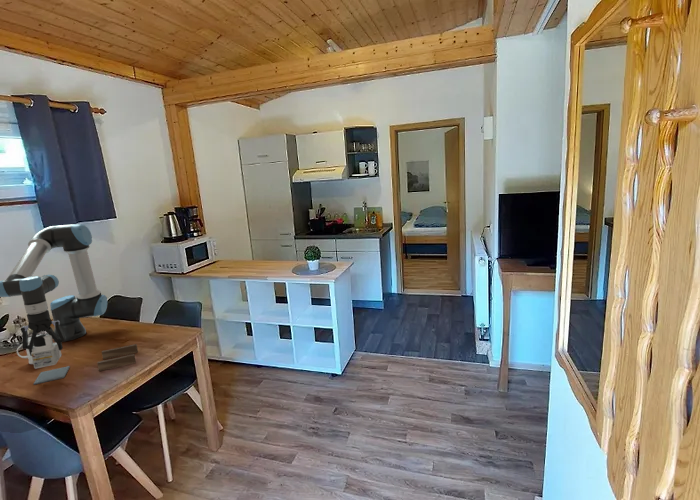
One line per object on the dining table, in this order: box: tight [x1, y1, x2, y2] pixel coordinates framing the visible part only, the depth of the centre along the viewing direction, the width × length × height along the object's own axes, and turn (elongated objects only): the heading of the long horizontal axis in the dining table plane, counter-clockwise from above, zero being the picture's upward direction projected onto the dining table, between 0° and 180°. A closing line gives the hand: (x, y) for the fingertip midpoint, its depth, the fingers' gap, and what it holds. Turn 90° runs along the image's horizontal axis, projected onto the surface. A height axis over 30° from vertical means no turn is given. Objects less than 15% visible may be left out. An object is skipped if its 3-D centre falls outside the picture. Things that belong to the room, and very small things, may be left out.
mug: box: [16, 334, 41, 365], centre depth 185 cm, size 12×8×12 cm
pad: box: [33, 365, 71, 386], centre depth 170 cm, size 11×11×1 cm
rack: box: [96, 343, 139, 372], centre depth 181 cm, size 14×15×4 cm
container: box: [31, 333, 60, 370], centre depth 166 cm, size 8×8×13 cm
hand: (48, 358), depth 169 cm, fingers closed on container, 8 cm apart
